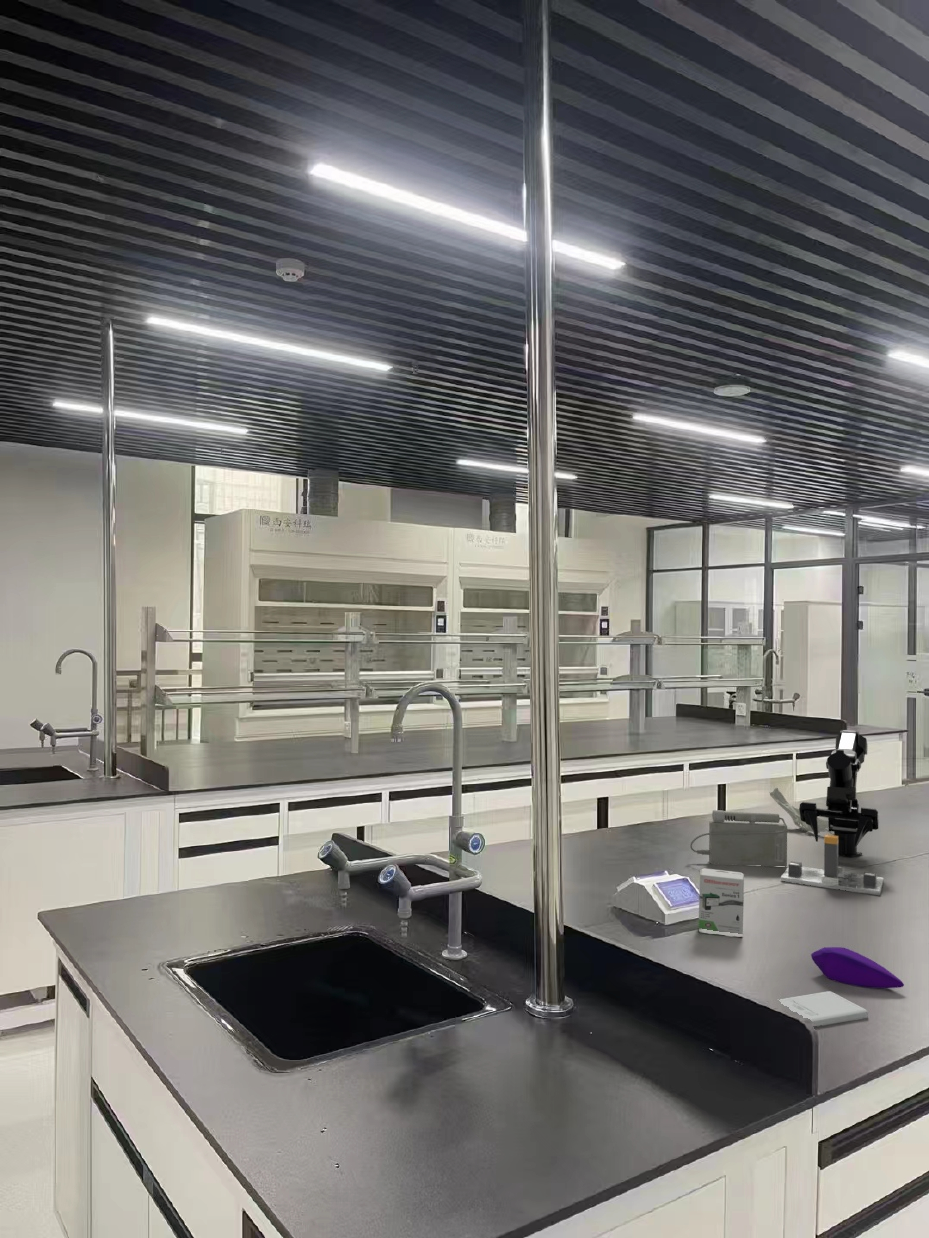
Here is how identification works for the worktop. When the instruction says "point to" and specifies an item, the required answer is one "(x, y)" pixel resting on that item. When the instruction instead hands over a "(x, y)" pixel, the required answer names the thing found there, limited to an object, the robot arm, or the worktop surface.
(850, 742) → the robot arm
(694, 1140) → the worktop surface
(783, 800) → the skeletal model
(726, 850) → the geiger counter
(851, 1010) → the external hard drive
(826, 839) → the lever
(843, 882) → the breaker panel
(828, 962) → the purple teardrop shape
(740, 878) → the ink box
